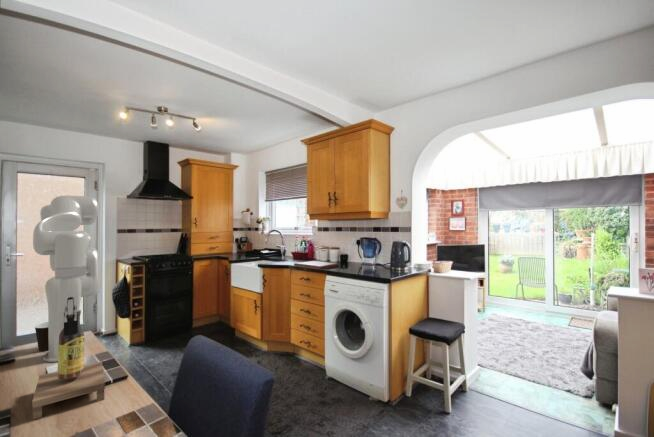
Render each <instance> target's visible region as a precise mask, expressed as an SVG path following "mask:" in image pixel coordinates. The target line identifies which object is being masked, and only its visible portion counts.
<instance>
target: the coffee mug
mask: <svg viewBox="0 0 654 437" xmlns="http://www.w3.org/2000/svg"><path fill="white" fill-rule="evenodd" d="M34 329H35V330H34V331H35V335H36V342H37V348H38V351H39V352H45V353H46V352H49V339H48V321H47V322H43V323H39V324H37V325H35V326H34Z"/></svg>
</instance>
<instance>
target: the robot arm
mask: <svg viewBox="0 0 654 437" xmlns="http://www.w3.org/2000/svg"><path fill="white" fill-rule="evenodd" d="M99 205H100V204H99V202H98V201H97V199H96V198H95V197H92V196H88V195H87V196H85V195H59V196H56V197H54V198H53V199H52V200H51V202H50V204H47V205H44V206H43V207H41V209H40V213H39V214H40V220H41V221H39V222H38V223H37V224H36V225H35V226H34V230H33V235H32V237H33V238H32V247H33V250H34V252H35V253H36V254H38V255H41V256H49V265H50V269H51V271H53V272H54V276H52V277H51V278H48V280H46V281H45V285H44V289H45V296H46V300H47V310H48V313H47V314H48V321H47V322H48V339H49V351H47V353H45V354H44V355H43V357H42V360H43V361H45V362H47V363H49V362H50V363H51V362H52V363H55V362H58V344H59V335H60V333H61V331H62V330H63V328H64V336H67V335H73V334H77V333H78V320H77V311H78V310H79V309H80V307H81V300H82V298H85V297H87V298H88V297H93V296H96V295H99V293H100V292H101V290H102V276H101V274H102V273H101V258H100V254H99V251H98V250H97V248H95V247H91V246H92V237H91V235H89V233H88V232H87V231H86V230H85V231H84V230H77V229H79V228H80V226H90V225H93V224H94V223H95V222H96V220H97V218H98V216H99V213H100V212H99V211H100V206H99ZM74 309H75V310H74ZM64 312H65V317H64ZM73 313H74V314H73Z"/></svg>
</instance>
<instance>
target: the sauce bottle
mask: <svg viewBox="0 0 654 437" xmlns="http://www.w3.org/2000/svg"><path fill="white" fill-rule="evenodd" d="M74 310H75V309H74ZM73 314H74V313H73ZM81 315H82V310H81V309H80V308H79V310H78V311H77V320H78V333H77V334H73V335H67V336H64V328H63V330H62V331H61V333H60V335H59V344H58V361H57V371H58V378H59V379H60V380H67V379H72V378H75V377H77V376H79V375H80V374H82V372H83V368H84V365H85V334H84V331H83V329H82V326H81V321H80V320H81ZM64 317H65V312H64Z"/></svg>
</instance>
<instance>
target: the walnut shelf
mask: <svg viewBox="0 0 654 437" xmlns="http://www.w3.org/2000/svg"><path fill="white" fill-rule="evenodd" d="M105 389H106V382H105V374H104V366H103V361H97V362H92V363H89V364H84V368H83V372H82V374H80V375H79V376H77V377H75V378H72V379H67V380H60V379H59V378H58V370H57V371H52V372H49V373H48V372H47V373H44V374H39V376H38V380H37V383H36V387H35V390H34V395H33V396H32V398H33V399H32V402H31V403H32V404H31V405H32V406H31V408H32V420H39V419H41V418H43V406H47V405H50V404H54V403H57V402H61V401H64V400H68V399H72V398H76V397H79V396H83V395H87V394H91V393H94V392H96V402H100V401H103V400H105Z"/></svg>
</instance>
